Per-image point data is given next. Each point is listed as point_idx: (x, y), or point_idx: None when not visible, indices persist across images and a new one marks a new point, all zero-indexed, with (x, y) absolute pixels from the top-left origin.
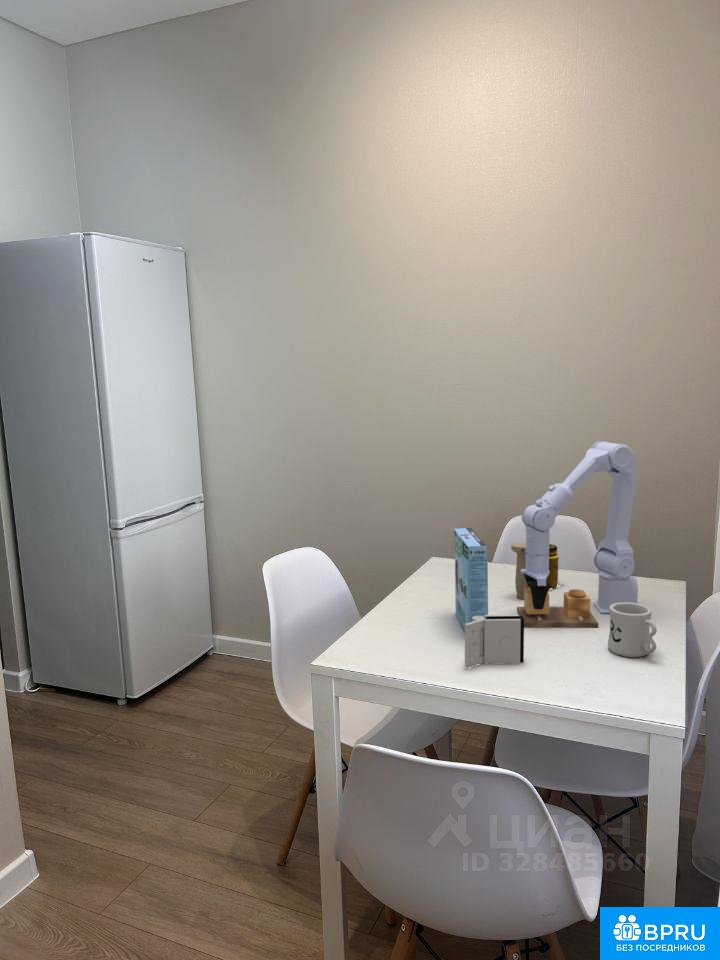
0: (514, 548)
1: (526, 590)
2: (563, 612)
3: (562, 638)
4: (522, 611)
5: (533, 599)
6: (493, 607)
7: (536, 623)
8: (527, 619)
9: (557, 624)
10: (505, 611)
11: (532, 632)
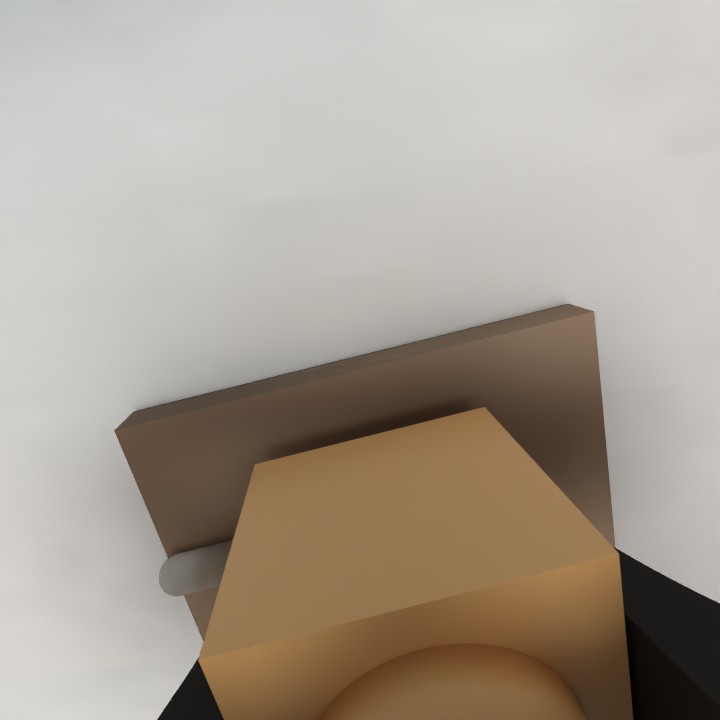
0: None
1: (479, 609)
2: None
3: (3, 695)
4: (453, 379)
5: (178, 692)
6: (667, 33)
7: (161, 530)
8: (224, 451)
9: None
10: (550, 188)
11: (36, 491)
